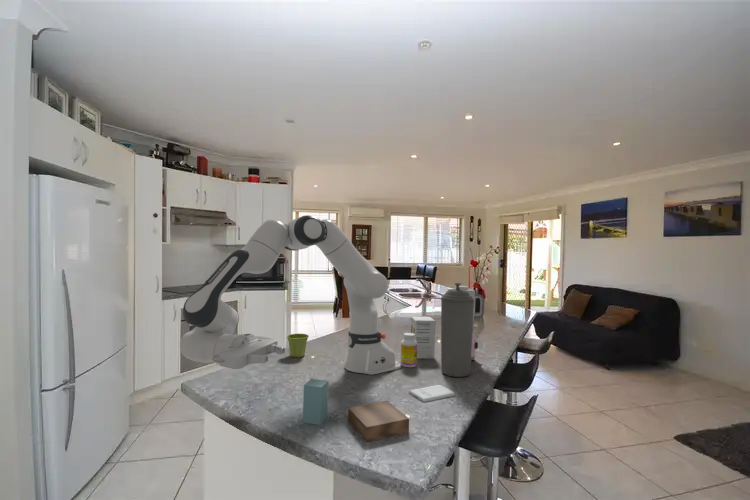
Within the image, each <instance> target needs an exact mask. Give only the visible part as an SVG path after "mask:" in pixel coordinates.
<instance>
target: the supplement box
mask: <svg viewBox="0 0 750 500" xmlns="http://www.w3.org/2000/svg"><path fill="white" fill-rule="evenodd" d="M410 333H413V334H415V338H414V339H415V340H416V341H417V359H435V349H436V347H435V344H436V320H435V319H433V317H431V316H411V319H410Z"/></svg>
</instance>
